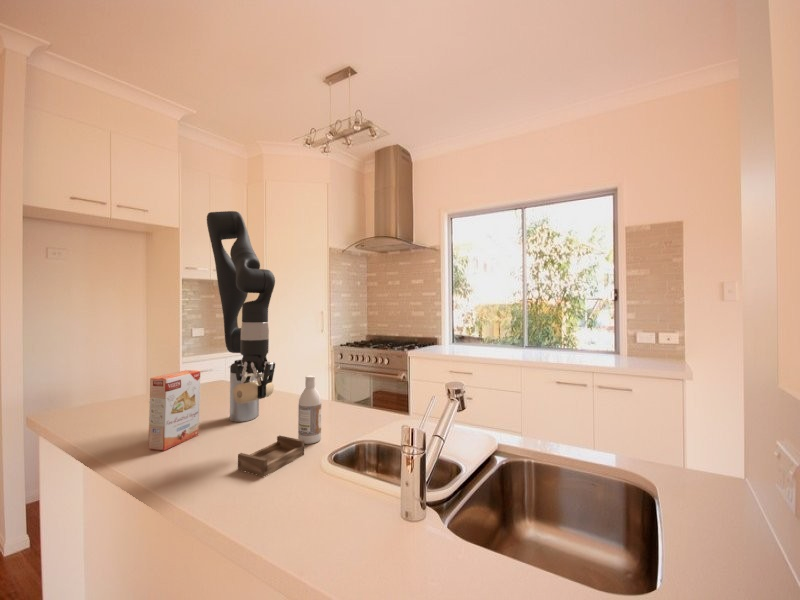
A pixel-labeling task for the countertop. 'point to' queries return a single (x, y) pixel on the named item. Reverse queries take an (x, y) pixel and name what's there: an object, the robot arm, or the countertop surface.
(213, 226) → the robot arm
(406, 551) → the countertop surface
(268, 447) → the cradle
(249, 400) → the roll
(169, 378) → the cracker box
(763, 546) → the countertop surface
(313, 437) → the bath foam
